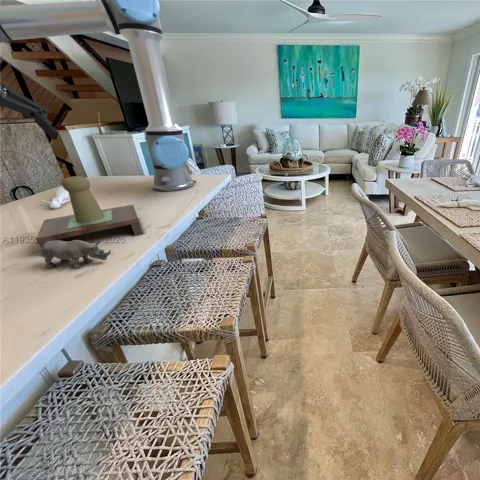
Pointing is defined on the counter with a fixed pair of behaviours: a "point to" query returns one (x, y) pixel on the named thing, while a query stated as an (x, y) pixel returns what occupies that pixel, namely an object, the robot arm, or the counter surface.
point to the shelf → (88, 224)
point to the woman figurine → (59, 198)
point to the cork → (82, 199)
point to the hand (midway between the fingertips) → (24, 139)
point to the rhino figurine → (72, 252)
